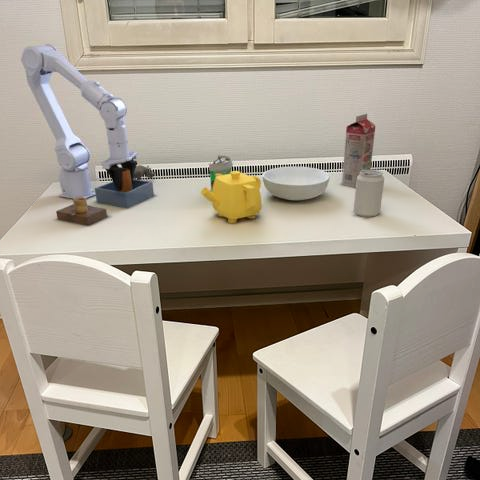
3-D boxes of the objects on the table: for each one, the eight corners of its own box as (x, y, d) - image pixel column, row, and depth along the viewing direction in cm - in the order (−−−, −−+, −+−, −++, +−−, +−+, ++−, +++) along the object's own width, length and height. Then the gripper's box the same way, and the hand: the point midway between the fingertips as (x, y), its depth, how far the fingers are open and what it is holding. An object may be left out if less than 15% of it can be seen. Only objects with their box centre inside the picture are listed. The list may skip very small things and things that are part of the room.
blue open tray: (97, 202, 160) (94, 188, 158) (124, 191, 170) (122, 177, 168) (127, 208, 155) (125, 193, 153) (154, 195, 165) (152, 181, 163)
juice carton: (341, 184, 171) (347, 115, 160) (351, 180, 175) (358, 112, 164) (359, 188, 167) (366, 117, 156) (369, 183, 172) (376, 114, 160)
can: (348, 211, 148) (352, 170, 142) (369, 207, 150) (374, 167, 144) (363, 219, 142) (367, 176, 136) (385, 215, 144) (390, 173, 138)
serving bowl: (281, 211, 149) (282, 188, 146) (251, 192, 166) (251, 171, 162) (341, 200, 156) (343, 178, 153) (306, 183, 173) (307, 163, 169)
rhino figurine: (159, 181, 179) (157, 164, 176) (121, 187, 174) (119, 169, 171) (155, 178, 183) (153, 161, 179) (118, 184, 177) (115, 167, 174)
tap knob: (72, 212, 145) (69, 199, 143) (81, 208, 148) (79, 195, 146) (81, 213, 144) (79, 200, 142) (90, 210, 146) (88, 197, 144)
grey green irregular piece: (229, 196, 163) (227, 164, 157) (210, 195, 164) (208, 164, 159) (236, 185, 173) (236, 155, 168) (219, 184, 174) (218, 155, 169)
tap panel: (55, 220, 147) (53, 211, 146) (77, 211, 154) (75, 202, 152) (86, 226, 142) (84, 217, 141) (107, 216, 148) (106, 208, 147)
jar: (114, 193, 161) (111, 171, 157) (124, 189, 164) (121, 167, 160) (126, 195, 159) (123, 172, 155) (135, 191, 162) (132, 169, 159)
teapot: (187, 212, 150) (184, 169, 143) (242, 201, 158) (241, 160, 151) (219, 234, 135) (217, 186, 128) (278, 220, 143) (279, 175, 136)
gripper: (112, 148, 146) (118, 194, 153) (143, 138, 157) (148, 182, 164) (93, 146, 149) (101, 191, 156) (125, 136, 160) (131, 179, 167)
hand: (124, 186), depth 160 cm, fingers closed on jar, 4 cm apart
